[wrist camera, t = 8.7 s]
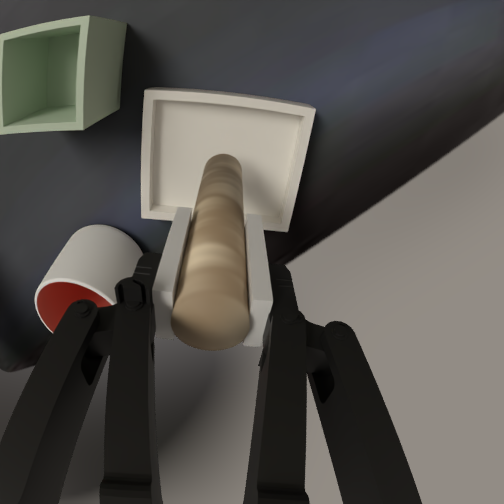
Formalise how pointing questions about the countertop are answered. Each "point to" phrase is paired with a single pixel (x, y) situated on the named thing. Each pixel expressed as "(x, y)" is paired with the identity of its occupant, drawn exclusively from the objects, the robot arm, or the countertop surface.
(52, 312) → the cup
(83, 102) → the pen pot
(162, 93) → the dish
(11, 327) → the countertop surface
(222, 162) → the dowel
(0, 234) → the countertop surface
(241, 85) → the countertop surface
